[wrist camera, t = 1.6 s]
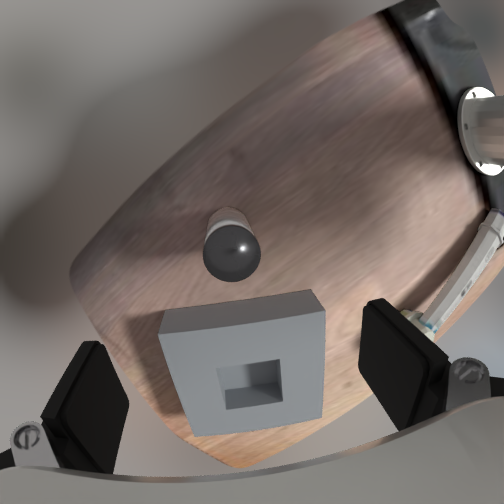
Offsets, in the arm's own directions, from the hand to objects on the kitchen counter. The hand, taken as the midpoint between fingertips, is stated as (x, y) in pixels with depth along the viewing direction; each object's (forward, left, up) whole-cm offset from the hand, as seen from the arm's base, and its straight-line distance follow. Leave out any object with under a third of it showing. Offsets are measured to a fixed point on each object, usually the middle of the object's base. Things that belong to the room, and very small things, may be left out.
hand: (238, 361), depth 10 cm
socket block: (0, +16, -21) cm, 26 cm away
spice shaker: (0, 0, -21) cm, 21 cm away
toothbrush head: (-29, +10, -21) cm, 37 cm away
